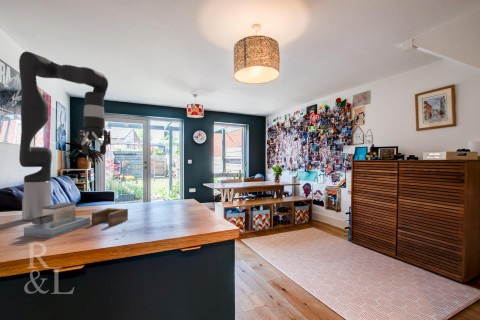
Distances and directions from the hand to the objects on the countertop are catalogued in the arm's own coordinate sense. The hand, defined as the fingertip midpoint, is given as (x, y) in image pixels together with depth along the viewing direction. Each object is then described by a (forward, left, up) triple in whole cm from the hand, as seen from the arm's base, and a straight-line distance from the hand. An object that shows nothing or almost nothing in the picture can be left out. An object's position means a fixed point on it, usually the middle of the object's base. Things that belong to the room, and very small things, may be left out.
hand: (94, 154), depth 95 cm
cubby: (+6, +2, -30) cm, 31 cm away
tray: (-6, -10, -30) cm, 32 cm away
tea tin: (-6, -12, -29) cm, 32 cm away
